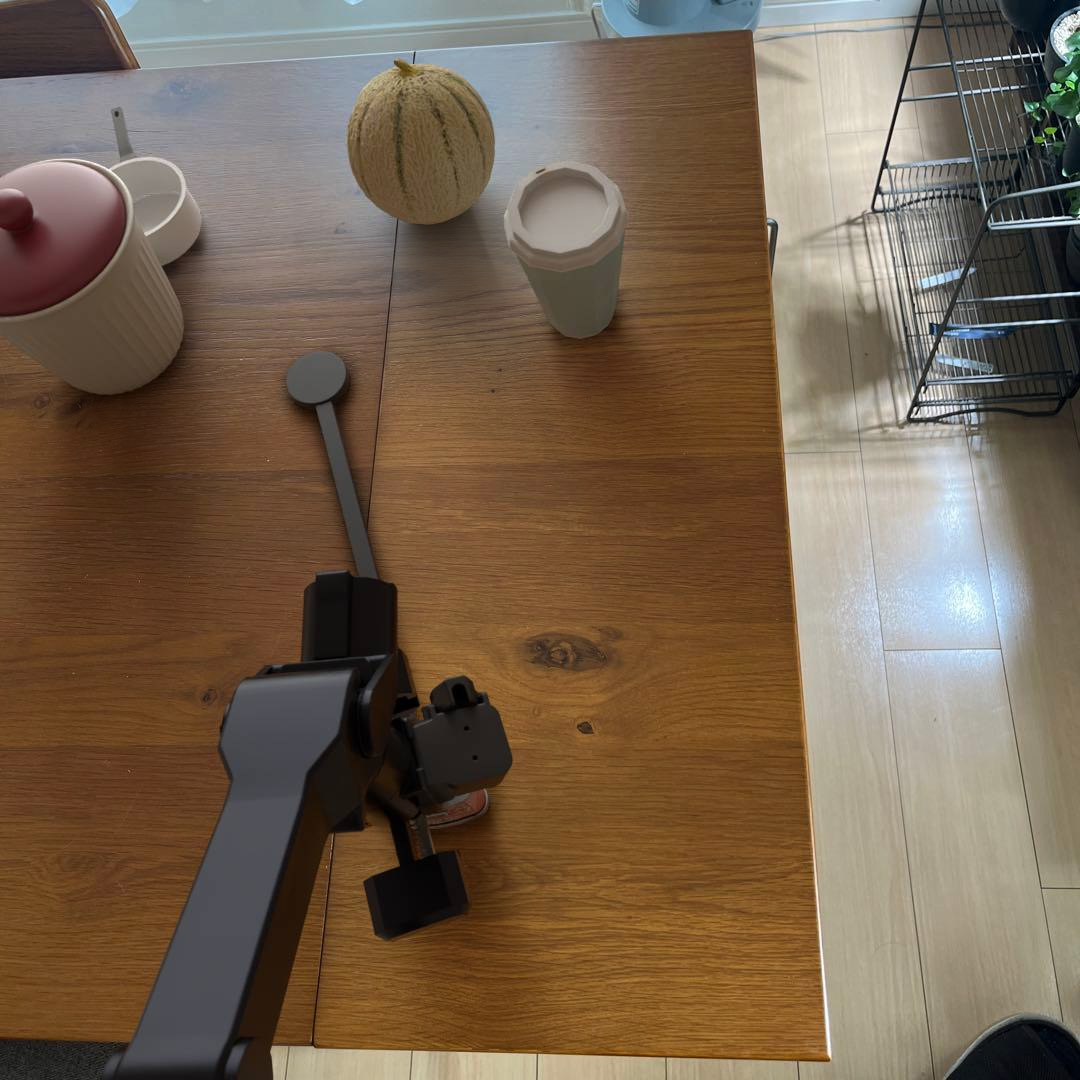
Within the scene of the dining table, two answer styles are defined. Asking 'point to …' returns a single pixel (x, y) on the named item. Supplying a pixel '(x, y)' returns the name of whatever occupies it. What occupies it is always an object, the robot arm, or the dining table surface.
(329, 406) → the spoon
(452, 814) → the lighter
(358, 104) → the cantaloupe
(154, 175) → the saucepan
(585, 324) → the disposable coffee cup
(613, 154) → the dining table surface
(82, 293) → the canister
